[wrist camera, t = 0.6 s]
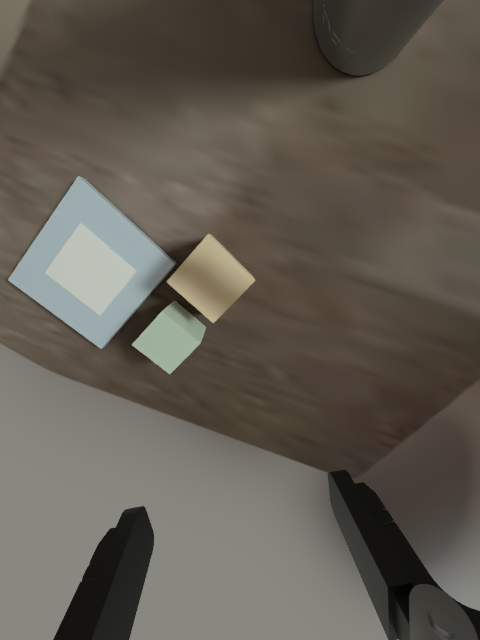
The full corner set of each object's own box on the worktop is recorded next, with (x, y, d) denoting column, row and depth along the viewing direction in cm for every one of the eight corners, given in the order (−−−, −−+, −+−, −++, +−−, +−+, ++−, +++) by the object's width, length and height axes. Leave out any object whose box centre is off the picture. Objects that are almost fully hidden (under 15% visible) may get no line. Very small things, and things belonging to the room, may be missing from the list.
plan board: (84, 178, 23) (77, 175, 22) (177, 263, 26) (174, 264, 25) (16, 278, 26) (6, 280, 25) (105, 345, 28) (100, 349, 27)
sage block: (174, 300, 27) (161, 311, 22) (206, 327, 28) (200, 343, 23) (149, 328, 28) (131, 345, 23) (180, 353, 29) (169, 374, 24)
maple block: (213, 236, 25) (208, 233, 20) (251, 274, 26) (255, 280, 22) (178, 275, 26) (166, 281, 21) (216, 310, 28) (213, 323, 23)
